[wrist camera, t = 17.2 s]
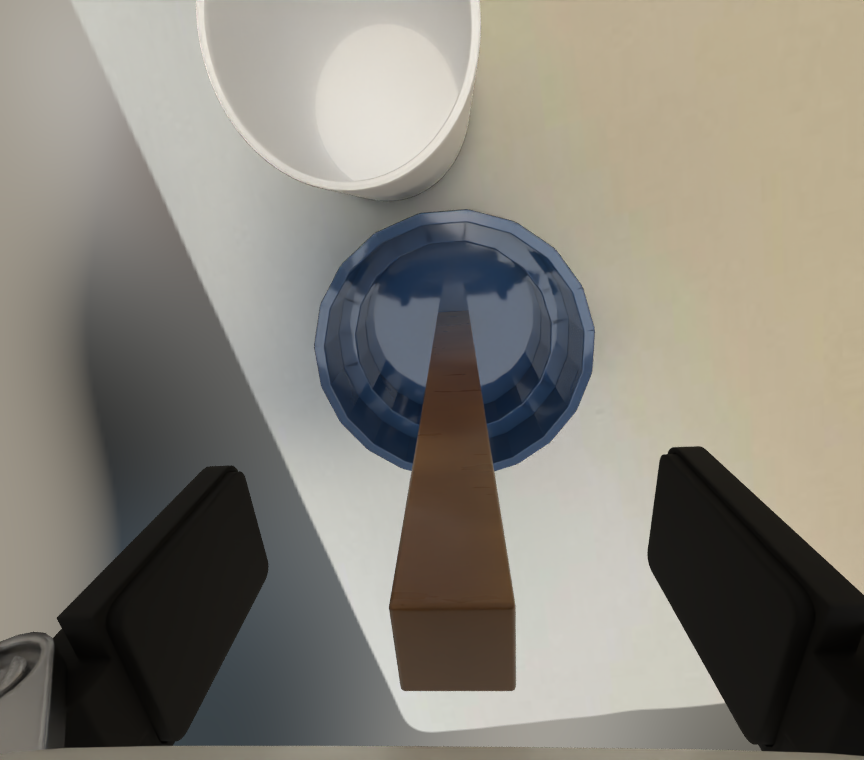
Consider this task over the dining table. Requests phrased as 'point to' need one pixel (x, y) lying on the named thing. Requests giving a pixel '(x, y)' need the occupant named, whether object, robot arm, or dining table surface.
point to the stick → (453, 537)
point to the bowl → (490, 321)
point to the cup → (347, 86)
